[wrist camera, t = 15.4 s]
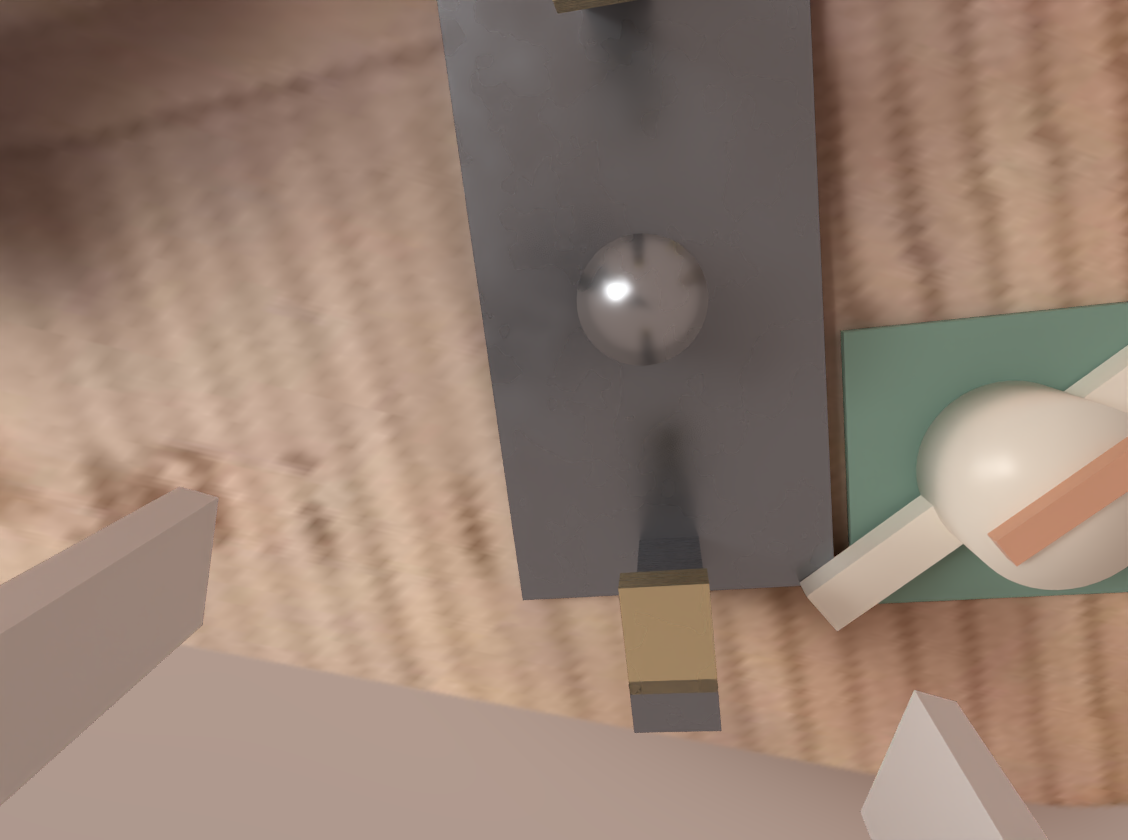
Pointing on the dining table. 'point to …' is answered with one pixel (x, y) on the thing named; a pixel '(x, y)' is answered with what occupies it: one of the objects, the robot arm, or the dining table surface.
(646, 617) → the grey frame
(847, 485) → the mat
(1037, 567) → the cream crossbar with hub
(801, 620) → the dining table surface
